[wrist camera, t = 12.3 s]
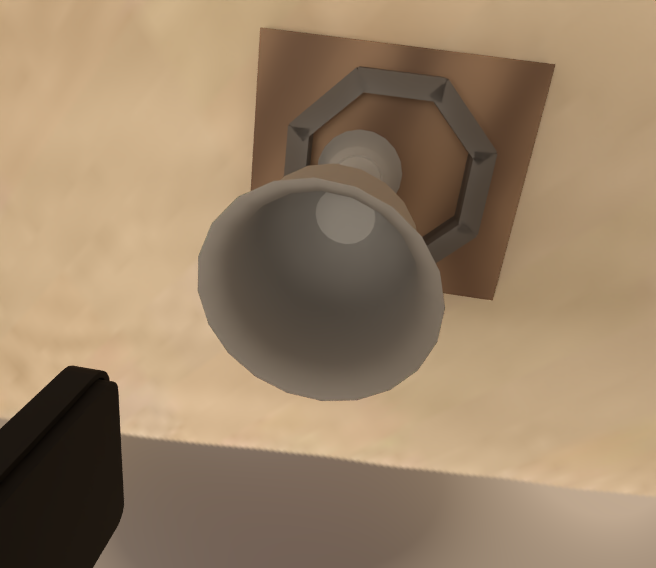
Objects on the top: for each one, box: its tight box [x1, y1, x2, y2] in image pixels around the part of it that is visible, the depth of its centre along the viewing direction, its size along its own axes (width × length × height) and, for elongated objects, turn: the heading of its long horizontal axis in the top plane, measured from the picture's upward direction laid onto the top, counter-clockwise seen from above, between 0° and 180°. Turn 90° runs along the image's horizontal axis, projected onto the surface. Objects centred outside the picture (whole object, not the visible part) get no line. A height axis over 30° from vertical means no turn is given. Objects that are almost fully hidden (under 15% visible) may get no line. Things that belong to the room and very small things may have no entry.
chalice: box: [198, 130, 445, 401], centre depth 24 cm, size 7×7×18 cm
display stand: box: [251, 28, 555, 300], centre depth 31 cm, size 16×14×4 cm
